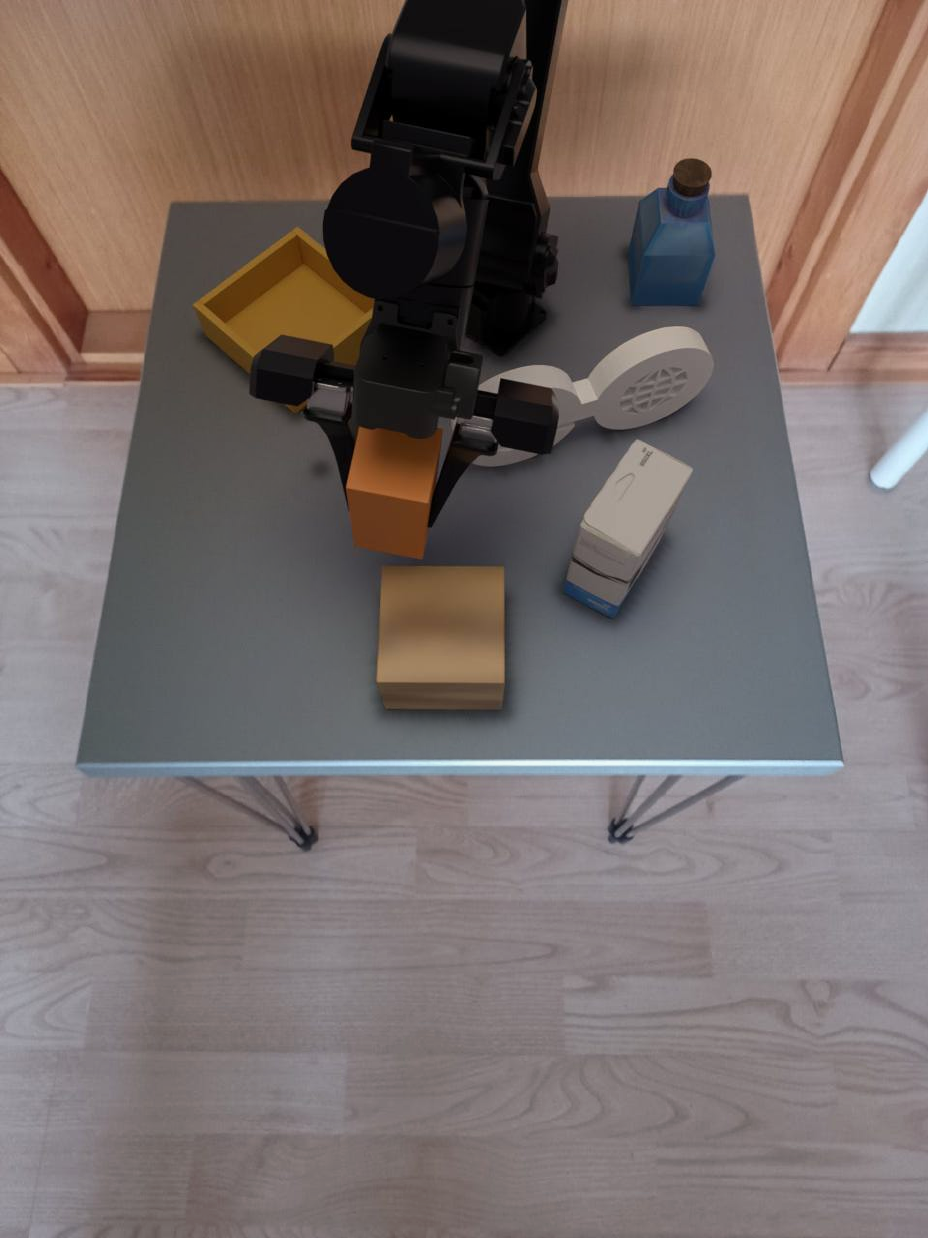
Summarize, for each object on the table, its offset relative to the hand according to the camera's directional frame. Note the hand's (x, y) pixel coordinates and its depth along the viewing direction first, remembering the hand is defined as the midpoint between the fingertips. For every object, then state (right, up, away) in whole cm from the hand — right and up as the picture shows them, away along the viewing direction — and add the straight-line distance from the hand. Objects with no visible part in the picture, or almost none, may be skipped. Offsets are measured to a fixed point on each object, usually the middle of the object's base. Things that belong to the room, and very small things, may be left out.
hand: (390, 517), depth 59 cm
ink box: (+17, -3, +13) cm, 22 cm away
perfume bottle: (+24, +25, +24) cm, 42 cm away
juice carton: (0, 0, +4) cm, 4 cm away
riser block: (+3, -10, +10) cm, 14 cm away
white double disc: (+15, +9, +18) cm, 25 cm away
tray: (-10, +20, +22) cm, 31 cm away
